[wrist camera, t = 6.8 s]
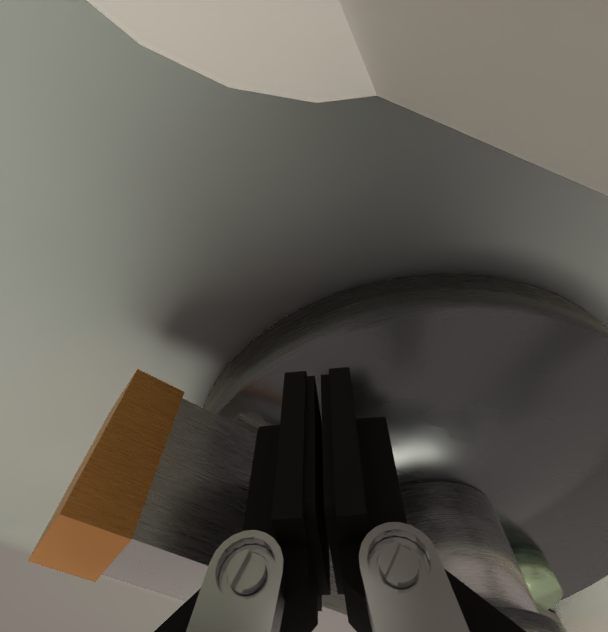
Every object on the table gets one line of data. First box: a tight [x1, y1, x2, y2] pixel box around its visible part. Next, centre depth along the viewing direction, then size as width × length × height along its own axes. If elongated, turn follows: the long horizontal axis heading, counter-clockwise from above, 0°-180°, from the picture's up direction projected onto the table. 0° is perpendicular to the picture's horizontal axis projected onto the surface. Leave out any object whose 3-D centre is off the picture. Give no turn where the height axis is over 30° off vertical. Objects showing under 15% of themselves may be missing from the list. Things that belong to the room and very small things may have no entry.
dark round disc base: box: [203, 274, 608, 613], centre depth 16 cm, size 18×18×4 cm
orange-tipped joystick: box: [28, 369, 568, 632], centre depth 12 cm, size 15×6×5 cm, turn 54°
